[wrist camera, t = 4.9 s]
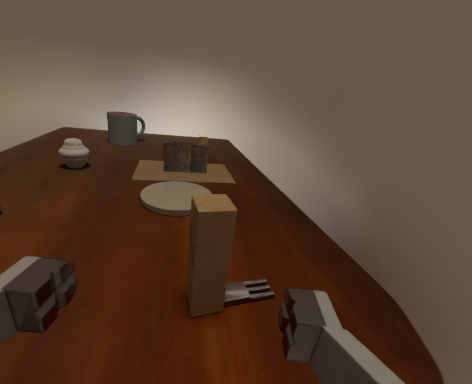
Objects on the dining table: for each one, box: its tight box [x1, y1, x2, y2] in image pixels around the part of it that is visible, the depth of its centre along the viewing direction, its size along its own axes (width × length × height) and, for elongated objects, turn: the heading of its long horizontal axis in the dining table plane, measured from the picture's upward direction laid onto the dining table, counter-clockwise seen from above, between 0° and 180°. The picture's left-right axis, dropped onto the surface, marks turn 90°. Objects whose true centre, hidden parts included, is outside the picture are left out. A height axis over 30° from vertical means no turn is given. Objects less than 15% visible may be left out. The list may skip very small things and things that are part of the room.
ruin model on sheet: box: [132, 137, 236, 183], centre depth 63 cm, size 25×16×10 cm, turn 104°
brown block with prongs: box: [186, 194, 274, 317], centre depth 24 cm, size 10×3×12 cm, turn 109°
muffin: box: [58, 138, 90, 168], centre depth 56 cm, size 6×6×7 cm
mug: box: [107, 112, 145, 146], centre depth 85 cm, size 14×9×10 cm
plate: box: [140, 181, 212, 216], centre depth 48 cm, size 14×14×1 cm
